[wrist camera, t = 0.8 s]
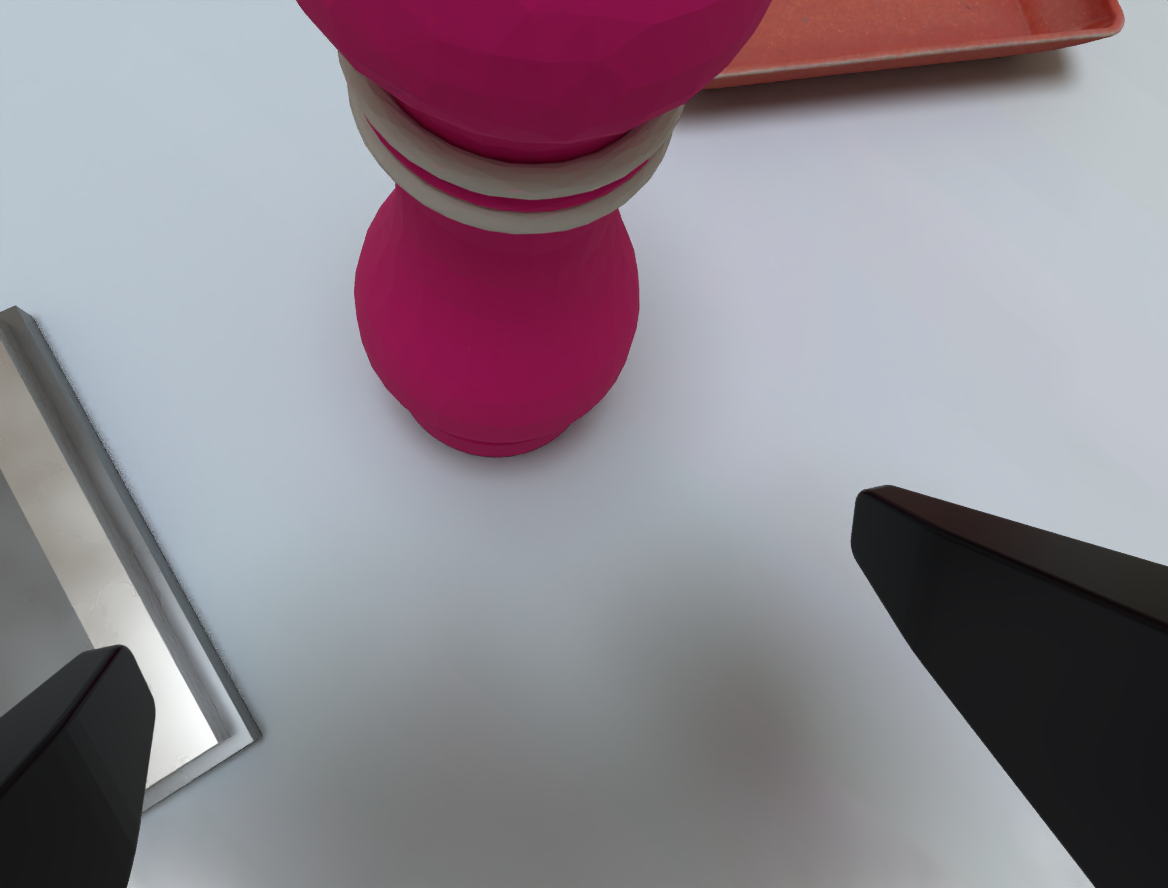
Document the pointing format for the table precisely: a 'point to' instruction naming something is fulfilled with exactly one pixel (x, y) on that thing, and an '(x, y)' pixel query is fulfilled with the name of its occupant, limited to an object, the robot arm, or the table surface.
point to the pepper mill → (513, 193)
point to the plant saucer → (908, 34)
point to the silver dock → (95, 572)
